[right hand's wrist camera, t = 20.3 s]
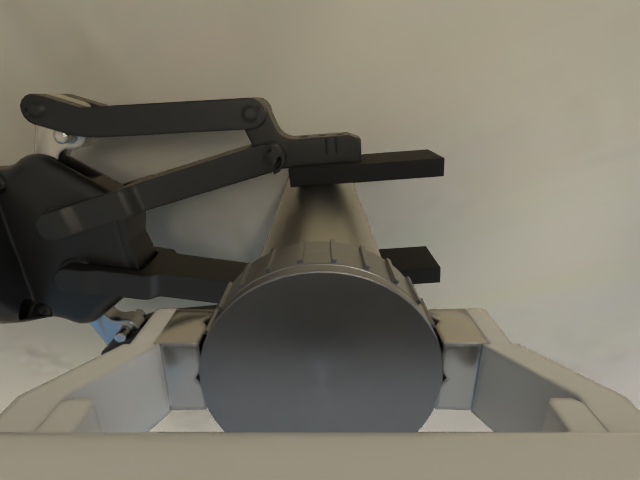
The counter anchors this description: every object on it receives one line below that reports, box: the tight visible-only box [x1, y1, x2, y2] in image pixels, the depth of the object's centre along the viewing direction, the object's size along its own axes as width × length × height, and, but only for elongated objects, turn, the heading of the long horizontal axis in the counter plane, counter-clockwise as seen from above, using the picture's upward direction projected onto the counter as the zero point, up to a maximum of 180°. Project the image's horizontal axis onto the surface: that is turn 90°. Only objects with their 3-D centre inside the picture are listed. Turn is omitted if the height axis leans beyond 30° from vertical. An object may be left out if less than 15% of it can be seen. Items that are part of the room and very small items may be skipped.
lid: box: [199, 239, 443, 432], centre depth 9 cm, size 5×5×2 cm
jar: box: [260, 178, 381, 258], centre depth 17 cm, size 4×4×17 cm
